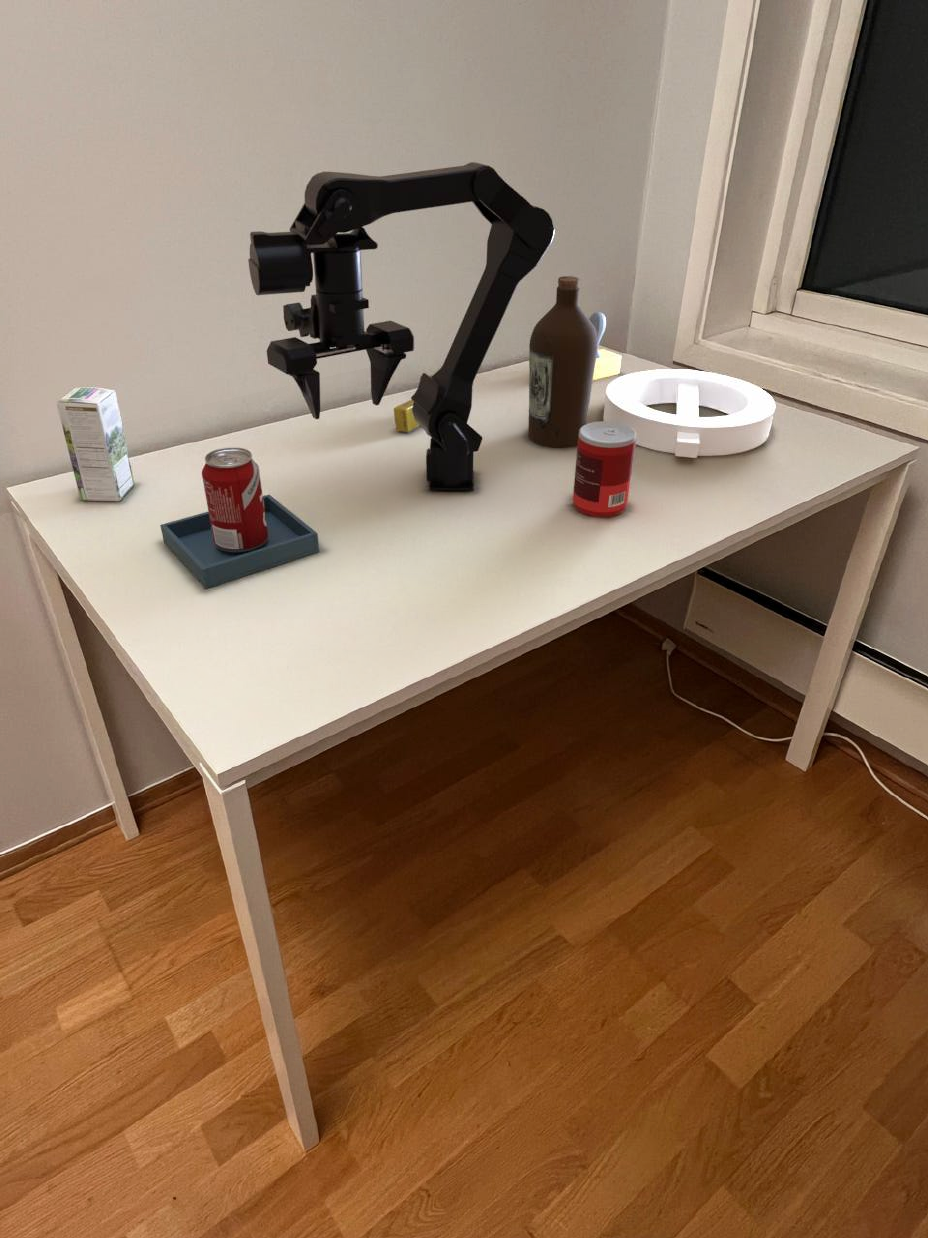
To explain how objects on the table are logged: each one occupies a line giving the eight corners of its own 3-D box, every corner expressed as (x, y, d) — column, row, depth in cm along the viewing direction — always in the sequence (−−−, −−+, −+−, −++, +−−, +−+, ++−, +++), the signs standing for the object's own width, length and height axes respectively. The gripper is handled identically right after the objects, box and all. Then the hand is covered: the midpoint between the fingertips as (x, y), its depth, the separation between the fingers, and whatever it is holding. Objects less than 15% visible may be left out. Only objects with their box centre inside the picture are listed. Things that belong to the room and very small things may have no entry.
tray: (271, 511, 116) (269, 494, 114) (319, 551, 107) (317, 533, 105) (164, 543, 108) (159, 524, 107) (205, 589, 99) (202, 569, 98)
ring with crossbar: (685, 385, 161) (689, 360, 159) (804, 433, 142) (811, 406, 139) (570, 412, 149) (573, 386, 146) (684, 469, 129) (689, 440, 127)
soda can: (239, 562, 104) (225, 472, 97) (203, 546, 107) (187, 458, 100) (279, 541, 108) (268, 454, 101) (244, 526, 111) (231, 440, 105)
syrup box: (97, 483, 123) (72, 386, 114) (137, 485, 122) (114, 387, 114) (80, 501, 118) (53, 400, 110) (121, 502, 118) (97, 402, 109)
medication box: (434, 410, 149) (432, 388, 147) (447, 412, 147) (445, 389, 145) (394, 430, 140) (392, 407, 138) (408, 432, 139) (405, 408, 137)
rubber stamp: (600, 366, 170) (606, 305, 163) (620, 374, 166) (627, 311, 160) (563, 375, 165) (568, 312, 159) (583, 383, 161) (589, 319, 155)
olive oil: (568, 421, 145) (581, 268, 131) (600, 443, 137) (618, 283, 123) (513, 430, 142) (520, 273, 127) (543, 453, 134) (555, 289, 119)
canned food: (631, 497, 121) (641, 424, 115) (621, 522, 115) (631, 446, 108) (579, 489, 123) (586, 417, 117) (566, 513, 117) (573, 438, 110)
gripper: (368, 267, 113) (373, 381, 122) (240, 285, 104) (255, 407, 112) (415, 284, 106) (417, 404, 115) (282, 304, 96) (294, 433, 105)
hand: (346, 411), depth 112 cm, fingers open, 9 cm apart
